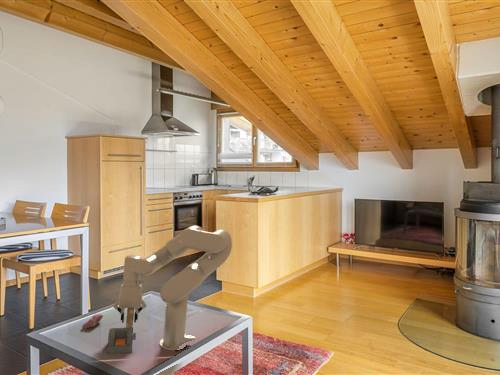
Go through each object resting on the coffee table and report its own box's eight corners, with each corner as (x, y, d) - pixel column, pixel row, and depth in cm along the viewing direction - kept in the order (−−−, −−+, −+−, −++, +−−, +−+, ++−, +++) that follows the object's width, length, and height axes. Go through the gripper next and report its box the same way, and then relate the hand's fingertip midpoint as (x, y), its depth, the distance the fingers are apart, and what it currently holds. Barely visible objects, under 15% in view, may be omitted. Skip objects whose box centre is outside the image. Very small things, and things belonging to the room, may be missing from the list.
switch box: (132, 342, 176) (133, 327, 176) (131, 353, 167) (132, 337, 166) (108, 343, 173) (109, 328, 173) (106, 354, 164) (107, 338, 163)
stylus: (131, 334, 182) (134, 305, 182) (131, 337, 179) (134, 308, 179) (124, 335, 181) (127, 305, 181) (124, 337, 179) (127, 307, 178)
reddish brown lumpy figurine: (88, 333, 184) (95, 321, 184) (80, 328, 185) (87, 316, 184) (99, 325, 194) (106, 314, 193) (92, 320, 195) (99, 309, 194)
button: (125, 343, 173) (125, 338, 172) (125, 348, 169) (125, 342, 168) (115, 344, 171) (115, 338, 171) (114, 348, 167) (115, 343, 167)
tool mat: (135, 334, 185) (135, 332, 185) (135, 340, 178) (135, 339, 178) (120, 334, 183) (120, 333, 183) (119, 341, 176) (119, 340, 176)
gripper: (150, 280, 185) (147, 317, 186) (112, 280, 180) (110, 318, 181) (151, 285, 178) (148, 324, 179) (111, 285, 173) (108, 325, 174)
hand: (128, 321), depth 180 cm, fingers open, 4 cm apart
